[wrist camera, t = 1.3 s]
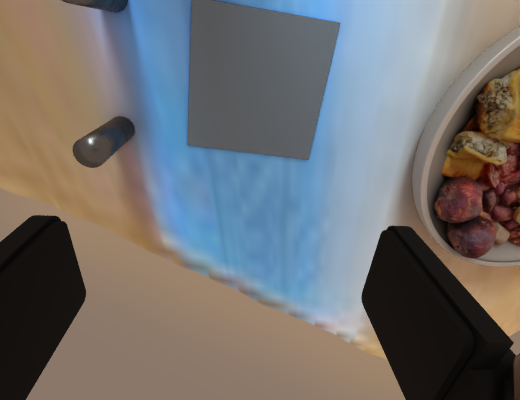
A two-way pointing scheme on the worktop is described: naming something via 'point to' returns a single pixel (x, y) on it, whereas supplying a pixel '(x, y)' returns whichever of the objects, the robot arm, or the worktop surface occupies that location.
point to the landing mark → (256, 78)
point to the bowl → (475, 161)
